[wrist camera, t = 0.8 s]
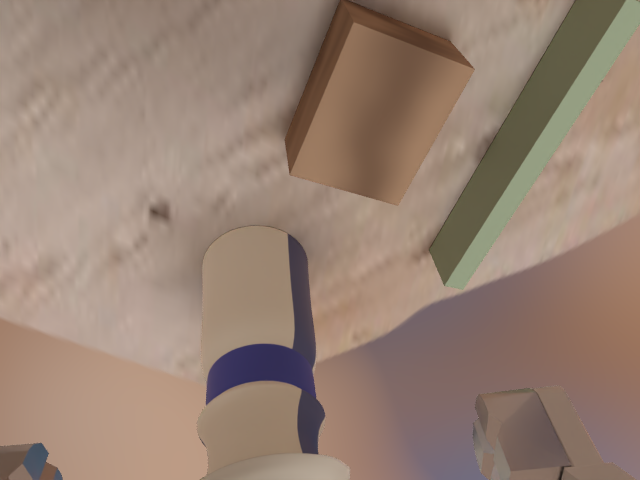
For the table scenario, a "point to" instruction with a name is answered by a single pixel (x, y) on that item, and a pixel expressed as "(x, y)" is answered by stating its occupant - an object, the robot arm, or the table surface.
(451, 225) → the green board
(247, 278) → the water bottle
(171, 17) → the table surface
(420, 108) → the walnut block
